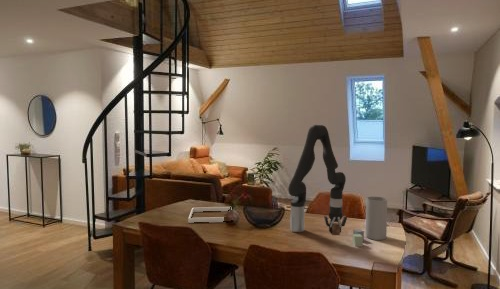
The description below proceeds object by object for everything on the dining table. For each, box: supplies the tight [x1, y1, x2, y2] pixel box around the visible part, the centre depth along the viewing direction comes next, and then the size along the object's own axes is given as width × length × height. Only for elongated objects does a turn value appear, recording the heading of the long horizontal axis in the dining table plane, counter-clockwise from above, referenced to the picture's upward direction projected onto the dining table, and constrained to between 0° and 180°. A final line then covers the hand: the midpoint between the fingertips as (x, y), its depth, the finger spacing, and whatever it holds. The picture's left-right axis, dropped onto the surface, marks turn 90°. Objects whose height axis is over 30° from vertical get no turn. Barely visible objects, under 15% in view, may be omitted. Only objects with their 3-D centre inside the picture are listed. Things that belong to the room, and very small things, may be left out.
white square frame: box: [187, 206, 231, 224], centre depth 277 cm, size 32×32×4 cm
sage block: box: [351, 234, 364, 248], centre depth 212 cm, size 4×4×6 cm
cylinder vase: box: [365, 196, 388, 241], centre depth 226 cm, size 12×12×25 cm
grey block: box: [352, 228, 365, 242], centre depth 222 cm, size 4×4×6 cm
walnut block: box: [330, 222, 341, 236], centre depth 215 cm, size 4×4×6 cm
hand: (335, 232), depth 216 cm, fingers closed on walnut block, 4 cm apart
